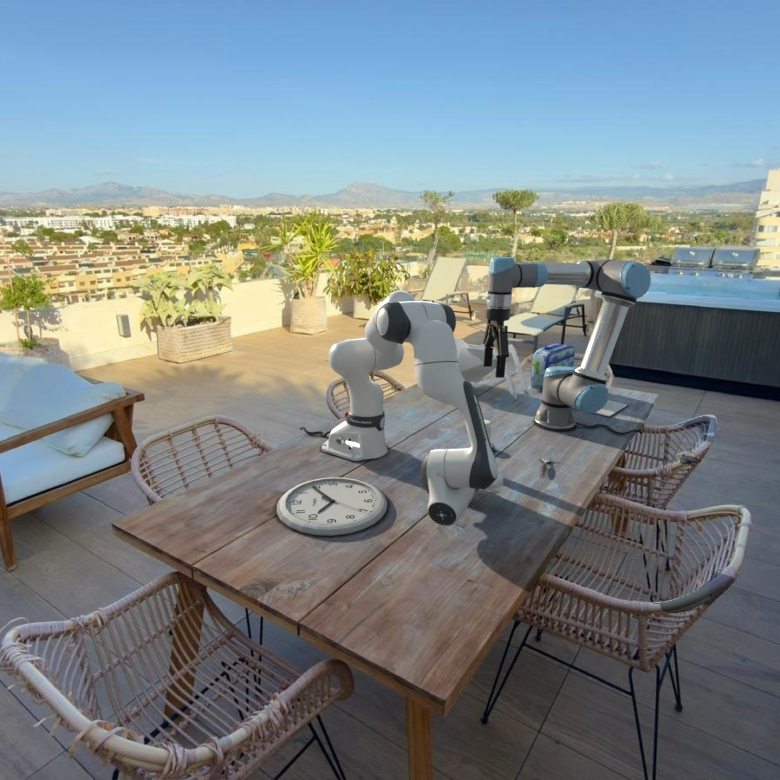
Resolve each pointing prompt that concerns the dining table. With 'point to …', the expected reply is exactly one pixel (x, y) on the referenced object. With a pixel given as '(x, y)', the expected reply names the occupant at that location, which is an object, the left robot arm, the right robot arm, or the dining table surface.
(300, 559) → the dining table surface
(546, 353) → the lunch box
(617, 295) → the right robot arm
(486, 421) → the off-white tall cylinder
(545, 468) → the fork
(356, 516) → the wall clock
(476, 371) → the white plastic object
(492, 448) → the lid
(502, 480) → the left robot arm
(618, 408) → the invitation card
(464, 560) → the dining table surface
